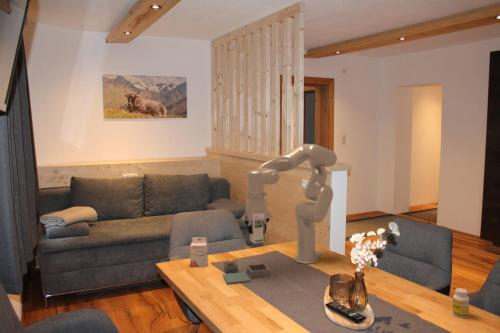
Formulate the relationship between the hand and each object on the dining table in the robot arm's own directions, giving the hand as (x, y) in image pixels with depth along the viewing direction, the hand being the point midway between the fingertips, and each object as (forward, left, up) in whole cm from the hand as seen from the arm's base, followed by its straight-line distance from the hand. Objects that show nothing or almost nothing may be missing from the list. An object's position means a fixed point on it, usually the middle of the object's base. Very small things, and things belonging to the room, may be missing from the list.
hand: (257, 232), depth 208 cm
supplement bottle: (-62, +65, -21) cm, 92 cm away
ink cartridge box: (+26, -22, -21) cm, 40 cm away
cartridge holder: (0, 0, -21) cm, 21 cm away
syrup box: (0, 0, -5) cm, 5 cm away
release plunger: (+12, -8, -20) cm, 25 cm away
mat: (+12, +3, -21) cm, 24 cm away
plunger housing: (+12, -8, -21) cm, 26 cm away
